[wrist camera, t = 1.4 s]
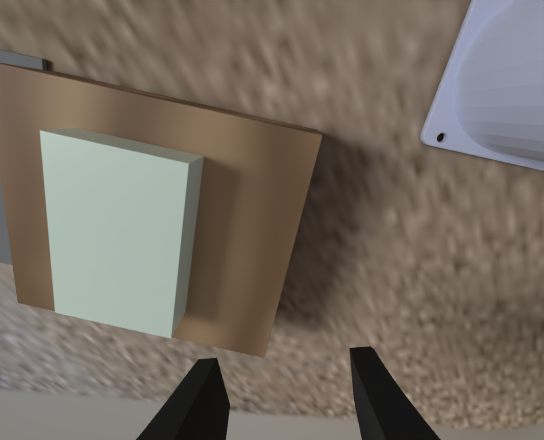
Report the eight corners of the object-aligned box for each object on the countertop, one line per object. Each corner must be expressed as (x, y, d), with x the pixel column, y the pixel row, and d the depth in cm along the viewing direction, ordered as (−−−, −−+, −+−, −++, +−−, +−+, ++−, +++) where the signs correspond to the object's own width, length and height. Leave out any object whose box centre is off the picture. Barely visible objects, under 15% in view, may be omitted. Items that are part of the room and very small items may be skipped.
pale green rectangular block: (203, 156, 13) (188, 163, 11) (185, 312, 16) (171, 338, 15) (76, 127, 13) (39, 130, 11) (82, 289, 16) (55, 312, 15)
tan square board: (316, 129, 16) (322, 135, 13) (270, 313, 21) (264, 357, 17) (55, 71, 16) (-16, 60, 13) (67, 268, 21) (17, 302, 17)
